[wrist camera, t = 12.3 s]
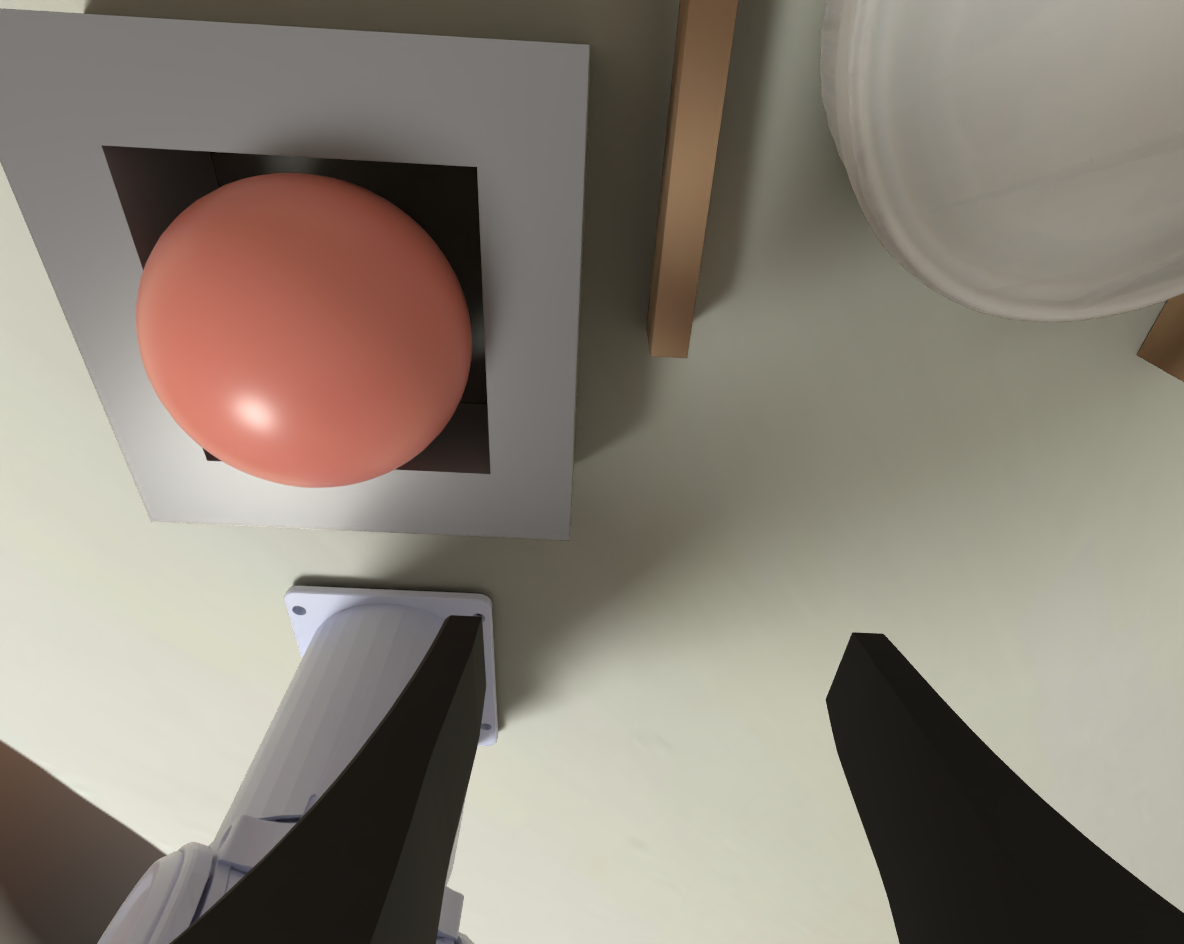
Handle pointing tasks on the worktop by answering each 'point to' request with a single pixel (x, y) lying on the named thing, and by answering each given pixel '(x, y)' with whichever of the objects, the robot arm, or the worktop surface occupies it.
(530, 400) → the base
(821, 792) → the worktop surface
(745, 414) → the worktop surface
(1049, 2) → the ramekin
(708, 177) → the bent wooden slat
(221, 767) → the worktop surface
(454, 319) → the salmon pink ball
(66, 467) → the worktop surface
